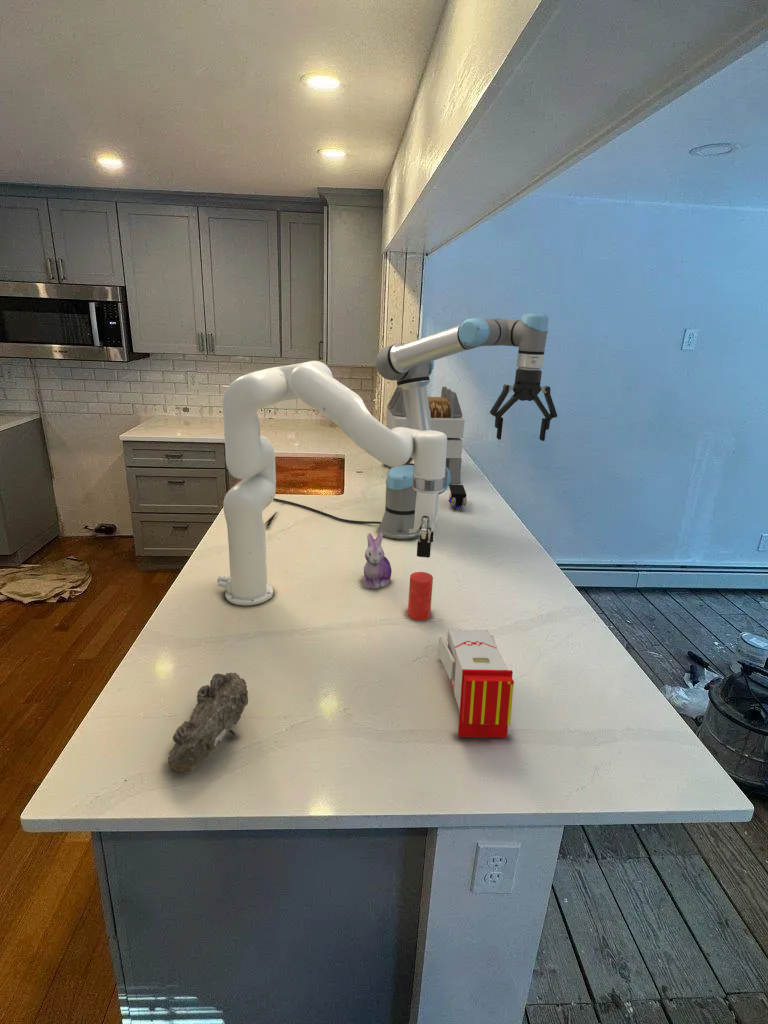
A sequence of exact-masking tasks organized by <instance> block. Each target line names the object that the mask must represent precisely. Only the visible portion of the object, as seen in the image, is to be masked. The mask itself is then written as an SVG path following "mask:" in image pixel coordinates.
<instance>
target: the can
mask: <svg viewBox="0 0 768 1024" xmlns="http://www.w3.org/2000/svg"><path fill="white" fill-rule="evenodd" d="M433 583H434V576H433V575H432V574H430V573H429V572H425V571H415V572H412V573H411V574H410V575H409V587H408V602H407V616H408V617H409V618H410V619H411V620H415V621H426V620H428V619H429V618H431V610H432V609H431V608H432V595H433Z"/></svg>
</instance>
